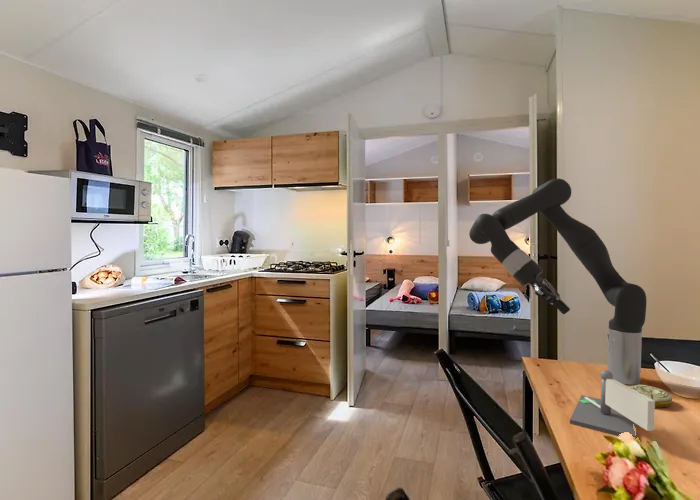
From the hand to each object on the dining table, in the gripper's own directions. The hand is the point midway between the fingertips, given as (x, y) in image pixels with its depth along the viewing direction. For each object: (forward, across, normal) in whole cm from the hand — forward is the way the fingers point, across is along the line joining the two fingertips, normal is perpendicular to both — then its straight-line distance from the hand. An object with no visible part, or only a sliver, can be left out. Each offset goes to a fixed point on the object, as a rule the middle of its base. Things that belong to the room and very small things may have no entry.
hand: (567, 312), depth 112 cm
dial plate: (+26, 0, -13) cm, 29 cm away
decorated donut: (+33, -20, -7) cm, 39 cm away
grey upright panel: (+27, +3, -10) cm, 29 cm away
